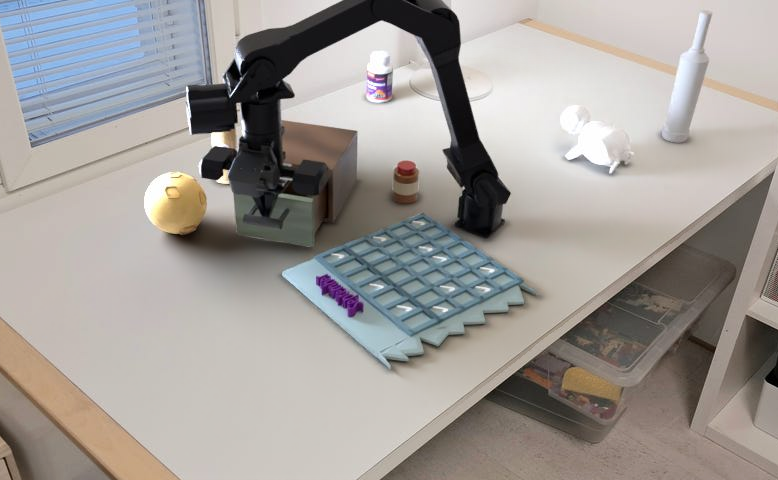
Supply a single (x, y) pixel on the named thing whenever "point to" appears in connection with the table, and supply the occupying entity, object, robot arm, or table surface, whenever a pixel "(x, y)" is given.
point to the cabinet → (325, 157)
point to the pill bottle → (379, 77)
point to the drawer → (283, 217)
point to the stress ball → (175, 203)
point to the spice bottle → (405, 182)
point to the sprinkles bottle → (227, 141)
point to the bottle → (687, 85)
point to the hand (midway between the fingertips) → (267, 218)
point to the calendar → (407, 287)
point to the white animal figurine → (596, 138)
